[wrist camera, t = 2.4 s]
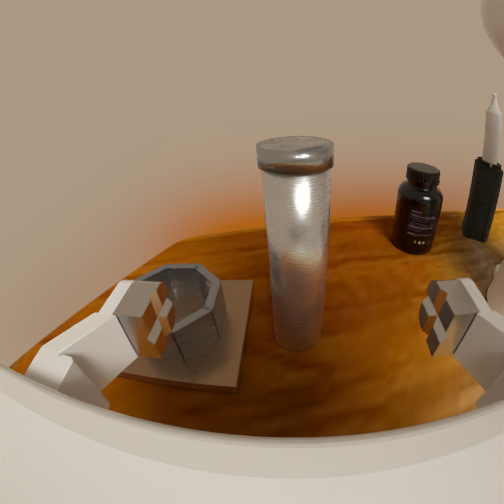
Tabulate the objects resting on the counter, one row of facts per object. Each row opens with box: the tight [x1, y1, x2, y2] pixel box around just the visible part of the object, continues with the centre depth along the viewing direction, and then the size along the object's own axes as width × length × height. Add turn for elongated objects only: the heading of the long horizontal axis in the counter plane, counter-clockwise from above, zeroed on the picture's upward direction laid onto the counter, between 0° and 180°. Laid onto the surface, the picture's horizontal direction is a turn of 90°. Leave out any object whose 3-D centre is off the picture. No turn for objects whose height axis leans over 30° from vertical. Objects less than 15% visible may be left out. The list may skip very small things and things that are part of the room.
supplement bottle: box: [392, 162, 443, 255], centre depth 34 cm, size 7×7×12 cm
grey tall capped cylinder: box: [256, 136, 334, 352], centre depth 22 cm, size 5×5×18 cm
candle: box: [462, 93, 503, 242], centre depth 31 cm, size 5×5×25 cm
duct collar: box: [117, 264, 254, 393], centre depth 27 cm, size 14×14×5 cm
